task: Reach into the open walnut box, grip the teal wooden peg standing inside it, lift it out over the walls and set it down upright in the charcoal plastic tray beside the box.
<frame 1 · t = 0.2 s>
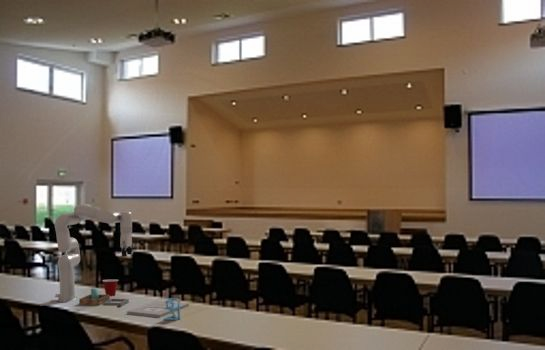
hand: (126, 255, 355), 31 cm above the table, tool pointing down, fingers open, 9 cm apart
walnut box: (94, 304, 347), on the table
peg: (94, 302, 347), point 1 cm above the table, touching walnut box
tray: (116, 304, 345), on the table
award plaque: (158, 311, 328), on the table
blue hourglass: (173, 319, 304), on the table
plastic cup: (110, 296, 370), on the table
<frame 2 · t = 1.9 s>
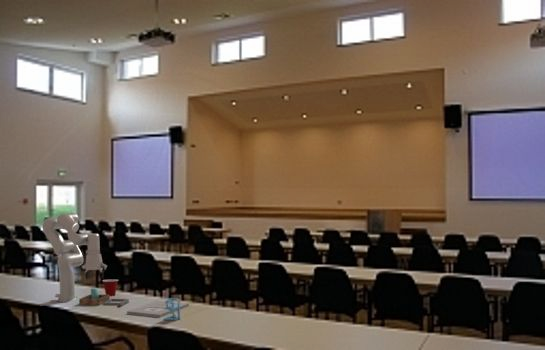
hand: (94, 278, 347), 17 cm above the table, tool pointing down, fingers open, 9 cm apart
nothing on the table moved.
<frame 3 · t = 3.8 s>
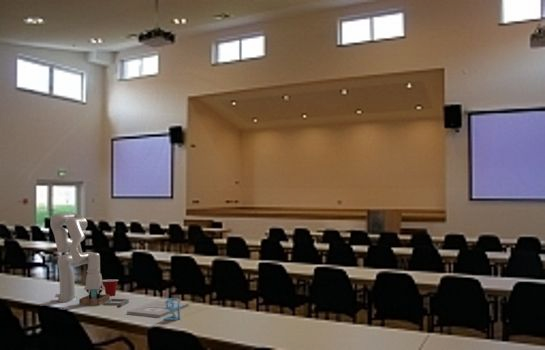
hand: (94, 299, 347), 3 cm above the table, tool pointing down, fingers closed on peg, 4 cm apart
peg: (94, 302, 347), point 1 cm above the table, touching gripper, walnut box
everything else where it was.
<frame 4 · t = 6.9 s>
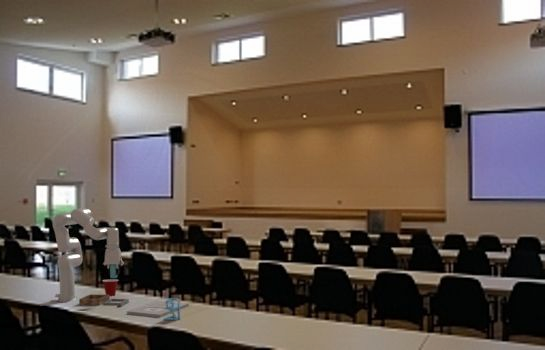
hand: (113, 274, 345), 20 cm above the table, tool pointing down, fingers closed on peg, 4 cm apart
peg: (114, 277, 345), point 18 cm above the table, touching gripper
everything else where it was.
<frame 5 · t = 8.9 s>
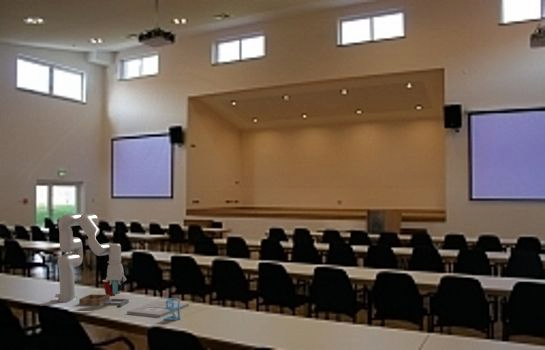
hand: (116, 290, 345), 9 cm above the table, tool pointing down, fingers closed on peg, 4 cm apart
peg: (116, 293, 345), point 7 cm above the table, touching gripper
everything else where it was.
when the fingers open (4 cm above the table, at t = 10.3 s): peg drops 1 cm, resting on tray.
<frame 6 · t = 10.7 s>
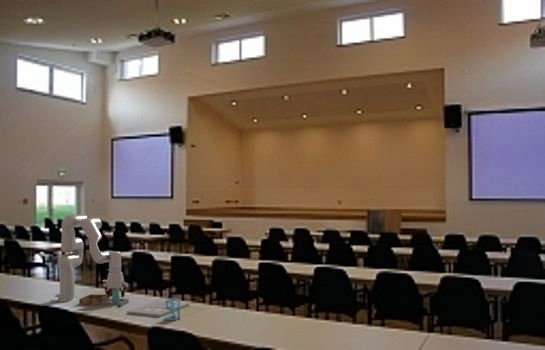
hand: (116, 296, 345), 5 cm above the table, tool pointing down, fingers open, 9 cm apart
peg: (116, 303, 345), point 1 cm above the table, touching tray
everything else where it was.
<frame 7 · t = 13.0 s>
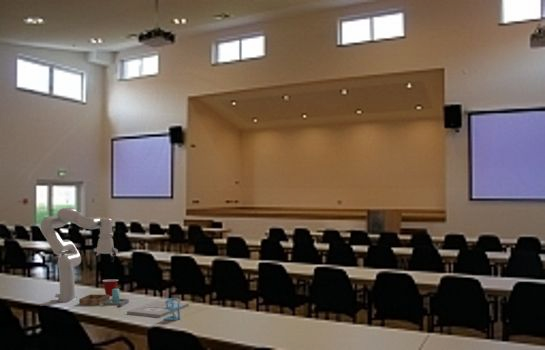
hand: (105, 261, 355), 27 cm above the table, tool pointing down, fingers open, 9 cm apart
nothing on the table moved.
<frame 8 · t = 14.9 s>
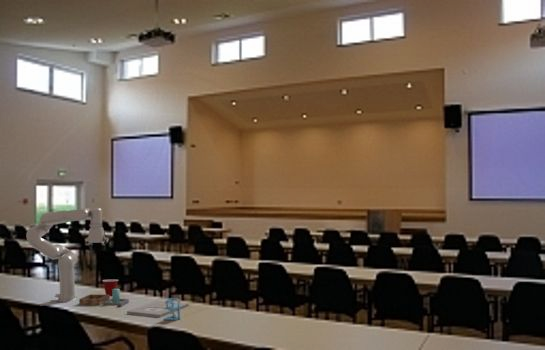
hand: (97, 250, 364), 33 cm above the table, tool pointing down, fingers open, 9 cm apart
nothing on the table moved.
at the end: peg inside the target area on the tray (0.1 cm from its centre), point 1.0 cm above the tray's base; peg tilted 1°; the gripper is holding nothing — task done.
